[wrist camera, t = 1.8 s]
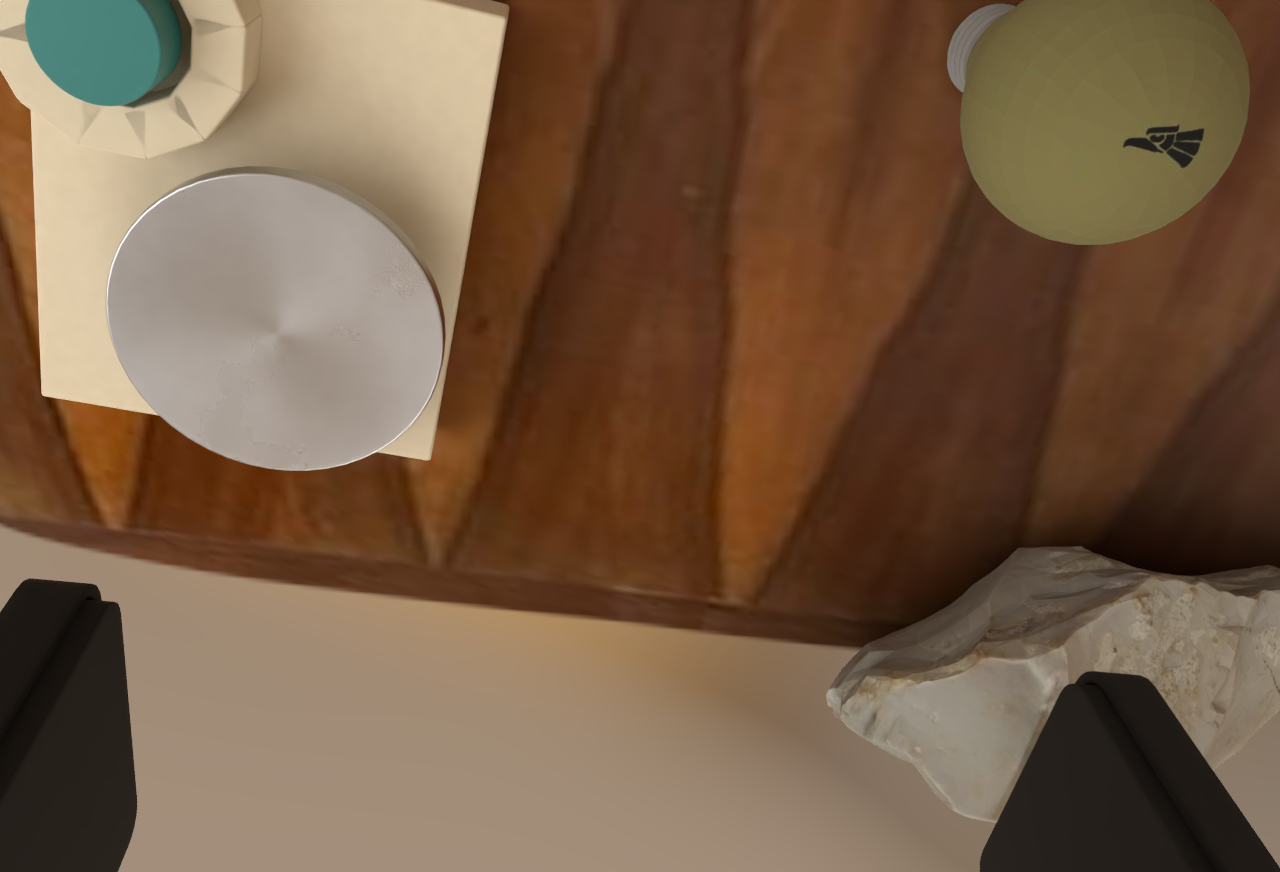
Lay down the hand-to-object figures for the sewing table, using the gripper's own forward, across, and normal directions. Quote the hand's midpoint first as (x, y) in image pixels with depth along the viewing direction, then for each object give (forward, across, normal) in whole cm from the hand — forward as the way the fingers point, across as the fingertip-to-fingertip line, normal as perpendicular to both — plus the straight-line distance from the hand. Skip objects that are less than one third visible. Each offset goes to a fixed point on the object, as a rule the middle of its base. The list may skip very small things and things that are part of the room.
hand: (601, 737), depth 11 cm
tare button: (+19, +11, -2) cm, 22 cm away
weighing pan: (+18, +7, +5) cm, 20 cm away
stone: (+22, -19, +12) cm, 32 cm away
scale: (+22, +8, +3) cm, 23 cm away
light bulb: (+22, -11, -4) cm, 25 cm away
